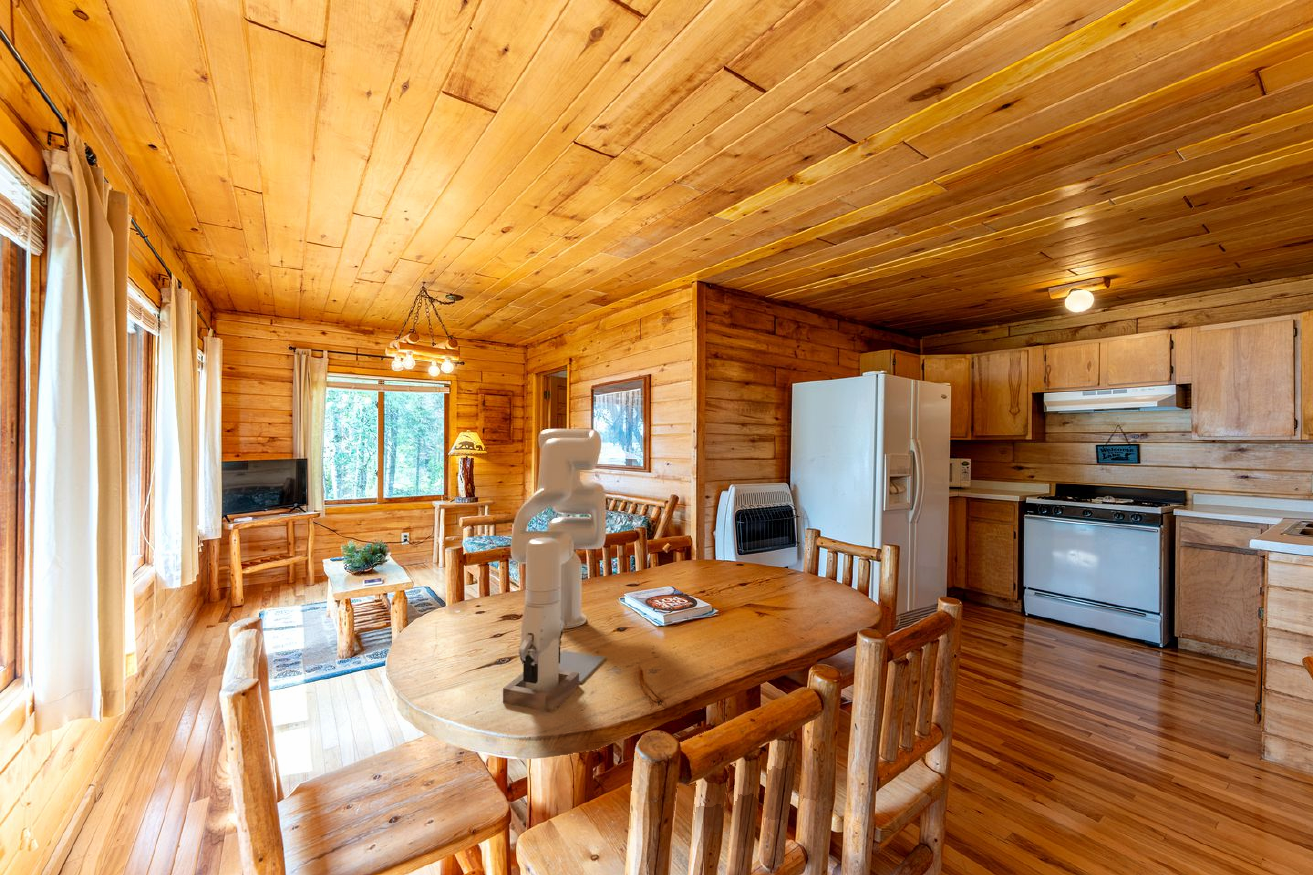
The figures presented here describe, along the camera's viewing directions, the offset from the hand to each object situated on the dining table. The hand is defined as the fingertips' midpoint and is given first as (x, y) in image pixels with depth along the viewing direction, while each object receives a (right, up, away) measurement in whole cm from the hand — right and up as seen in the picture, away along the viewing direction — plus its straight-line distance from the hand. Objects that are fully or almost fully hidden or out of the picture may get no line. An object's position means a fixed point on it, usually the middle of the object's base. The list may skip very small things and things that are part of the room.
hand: (542, 672), depth 119 cm
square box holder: (0, -5, 0) cm, 5 cm away
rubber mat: (+4, -5, +13) cm, 15 cm away
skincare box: (0, -5, 0) cm, 5 cm away
